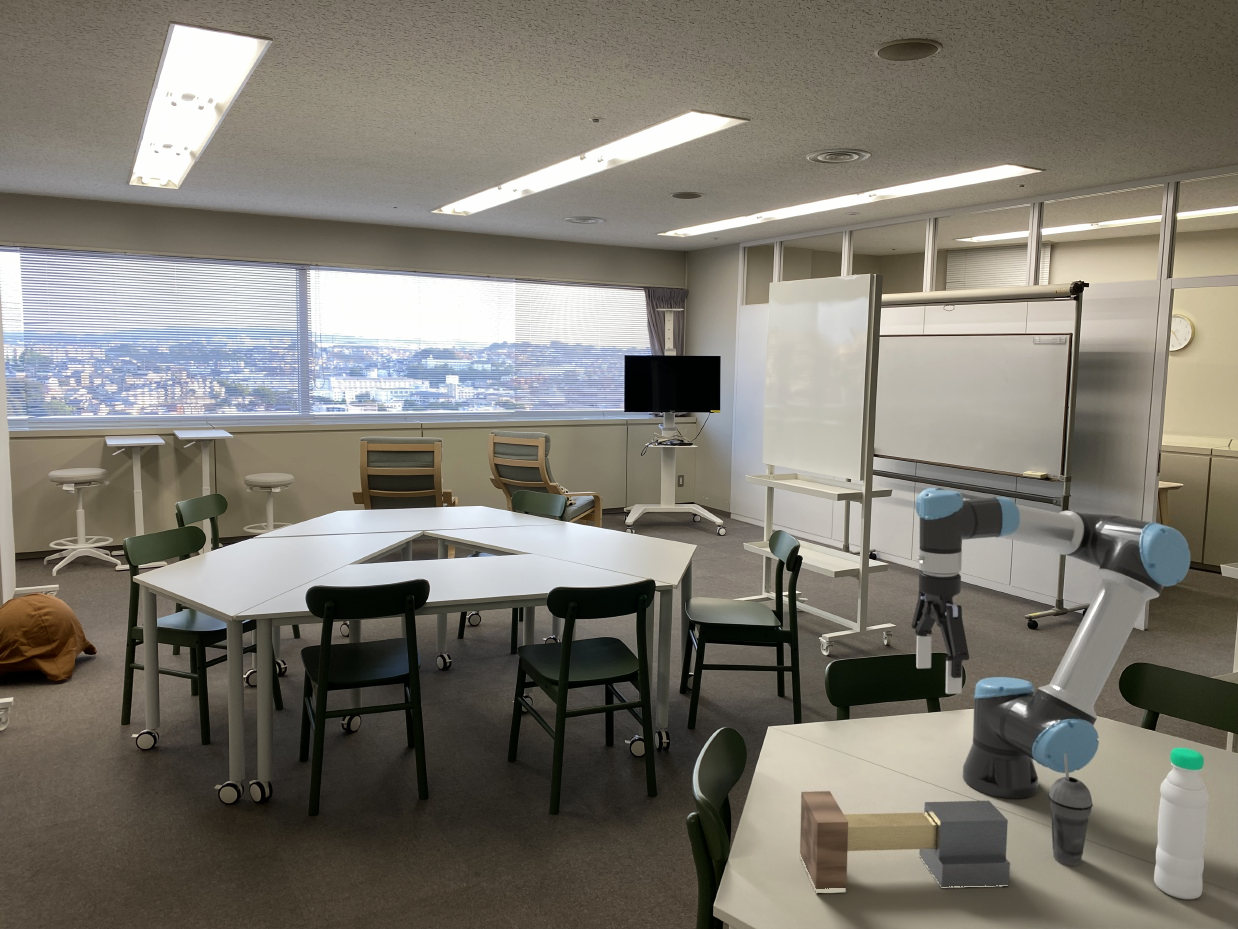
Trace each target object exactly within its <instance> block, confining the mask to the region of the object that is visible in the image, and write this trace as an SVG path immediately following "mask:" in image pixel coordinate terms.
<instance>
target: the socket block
mask: <svg viewBox="0 0 1238 929" xmlns="http://www.w3.org/2000/svg"><path fill="white" fill-rule="evenodd" d="M800 793H801V795H800V799H801V800H800V834H799V835H800V838H799V839H800V842H799V855H800V854H801V857H802V859H803V861H804V863H805V865H806V868H807V870H808V872H809V874H810V876H811V879H812V881H813V883H814V885H815V888H816V889H825V888H826V889H827V888H828V889H829V888H846V889H847V884H848V882H847V880H848V879H847V878H848V876H847V874H848V851H847V849H848V821H847V819H846V817H845V816H844V812H843V811H842V809H841V808H840V806H839V803H838V802H837V800H836V799H835V797H834V796H833V793H831V791H830V790H828V791H827V790H826V791H825V790H823V791H818V790H817V791H816V790H815V791H801V792H800Z"/></svg>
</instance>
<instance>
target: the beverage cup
mask: <svg viewBox="0 0 1238 929" xmlns="http://www.w3.org/2000/svg"><path fill="white" fill-rule="evenodd" d="M1064 760H1065V773H1064V774H1065V776H1062V777H1060V778H1057V779H1056V780H1055V781H1054V782H1053V783H1052V784H1051V786H1050V789H1049V793H1048V800H1049V806H1050V814H1051V817H1050V818H1051V834H1052V835H1051V837H1052V853H1053V859H1054V858H1055V859H1054V860H1055V861H1056V862H1058V863H1059V862H1060V863H1059V864H1062V865H1063V866H1064V865H1065V866H1068V867H1078V866H1080V865H1081V863H1082V856H1083V854H1084V848H1085V841H1086V836H1087V835H1086V834H1087V829H1088V825H1089V823H1088V822H1089V817H1090V815H1091V812H1092V808H1093V805H1094V804H1093V799H1092V794H1091V791H1090V789H1089V788H1088V786H1087V785H1086V784H1085V783H1084V782H1083V781H1081V780H1080V779H1078V778H1077V777H1072V776H1070V773H1069V771H1068V759H1067V754H1064Z"/></svg>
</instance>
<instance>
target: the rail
mask: <svg viewBox="0 0 1238 929" xmlns="http://www.w3.org/2000/svg"><path fill="white" fill-rule="evenodd" d="M843 814H844V813H843ZM844 816H845V817H846V819H847V821H848V849H847V852H856V851H857V852H859V851H860V852H861V851H866V852H867V851H895V850H896V851H897V850H898V851H899V850H900V851H901V850H920V849H937V836H938V824H937V823H936V821H935V820H934V819H933V817H932V816H931V815H930V814H929V812H926V813H924V812H896V813H895V812H890V813H885V812H884V813H855V814H853V813H851V814H850V813H849V814H844Z"/></svg>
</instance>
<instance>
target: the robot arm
mask: <svg viewBox="0 0 1238 929" xmlns="http://www.w3.org/2000/svg"><path fill="white" fill-rule="evenodd" d="M915 511H916V514H917V516H918V517H919V555H917V557H916V558H917V560H918V561H919V562H918V563H919V569H920V572H919V573H918V595H917V596H918V598H917V602H916V607H915V609H914V614H913V618H912V622H911V629H913V630H914V632H915V635H916V651H915V652H916V654H915V655H916V656H915V657H916V659H915V660H916V661H915V662H916V665H915V666H916V668H917V669H931V668H932V634H933V631H932V629H933V627H934V625H935V623H936V626H937V627H939V628H940V631H941V634H942V637H943V641H944V646H945V648H946V652H947V656H946V657H945V658H944V660H945V694H947V695H954V694H958V695H959V694H962V692H963V691H962V690H963V688H962V687H963V661H969V659H970V654H969V649H968V643H967V639H966V638H967V637H966V633H965V626H964V620H963V607H962V606H961V605H958V604H957V605H954V599H953V598H954V597H955V596H958V595H959V594H960V593H961V590H962V576H961V574H960V572H961V571H962V565H963V564H962V562H963V560H962V559H963V558H962V556H963V555H962V554H963V550H962V547H963V546H962V544H963V540H964V541H965V540H971V539H972V540H973V539H974V540H976V539H985V538H986V539H987V538H996V539H997V538H1000V539H1001V538H1002V539H1005V540H1011V541H1016V542H1021V543H1026V544H1032V545H1036V546H1041V547H1047V548H1051V549H1052V550H1053V552H1055V553H1057V554H1059V555H1063V556H1068V557H1071V558H1074V559H1077V560H1080V561H1083V562H1086V563H1088V564H1090V565H1093V566H1096V567H1098V568H1099V569H1098V570H1097V571H1098V574H1099V576H1100V579H1101V583H1100V584H1099V586H1098V588H1097V590H1096V592H1095V594H1094V596H1093V599H1092V600H1091V603H1090V604H1089V606H1088V607H1087V609H1086V612H1085V614H1084V616H1083V618H1082V620H1081V622H1080V623H1079V625H1078V628H1077V630H1076V632H1075V634H1074V635H1073V637H1072V640H1071V641H1070V642H1069V643H1070V644H1069V645H1068V648H1067V649H1066V651H1065V654H1064V655H1063V657H1062V659H1061V661H1060V663H1059V665H1058V667H1057V669H1056V670H1055V673H1054V675H1053V677H1052V679H1051V681H1050V683H1048V684H1046V685H1043V686H1039V687H1038V688H1037V690H1035V687H1034V684H1033V683H1032V682H1031V681H1028V680H1026V679H1021V678H1017V677H1007V676H1006V677H1005V676H997V677H993V676H992V677H986V678H983V679H980V680H979V681H978V682H977V683H976V684H975V688H974V689H975V690H974V695H973V725H972V727H973V729H972V736H973V737H972V744H971V746H970V749H969V751H968V754H967V757H966V758H965V761H964V763H963V766H962V778H963V780H964V782H965V784H967V785H968V786H969V787H970V788H972V789H974V790H976V791H978V792H980V793H983V794H986V795H989V796H992V797H996V798H997V797H998V798H1003V799H1014V800H1015V799H1025V798H1029V797H1032V796H1034V795H1036V794H1037V792H1038V790H1039V777H1038V774H1037V773H1038V772H1037V770H1036V767H1035V764H1034V761H1035V762H1036V763H1037V764H1039V765H1041V766H1042V767H1045V768H1048V769H1050V770H1052V771H1054V772H1056V773H1060V774H1066V773H1065V760H1064V754H1067V759H1068V771H1069V774H1071V773H1074V772H1075V771H1080V770H1081V769H1084V767H1086V766H1087V765H1088V764H1089V763H1090V762H1091V761H1092V760H1093V759H1094V758H1095V756H1096V754H1097V751H1098V749H1099V746H1100V745H1099V744H1100V742H1099V740H1098V739H1099V733H1098V731H1097V729H1096V728H1095V726H1094V725H1095V723H1096V721H1097V719H1098V717H1097V713H1096V711H1095V707H1094V706H1095V704H1096V702H1097V699H1098V698H1099V695H1100V694H1101V692H1102V690H1103V688H1104V686H1105V684H1106V682H1107V680H1108V677H1109V676H1110V674H1111V672H1112V670H1113V668H1114V666H1115V664H1116V662H1117V660H1118V658H1119V656H1120V654H1121V652H1122V650H1123V648H1124V646H1125V644H1126V643H1127V641H1128V638H1129V637H1130V635H1131V632H1132V630H1133V628H1134V627H1135V624H1136V623H1137V620H1138V619H1139V617H1140V615H1141V612H1142V610H1143V609H1144V607H1145V605H1146V603H1147V602H1148V601H1150V600H1153V599H1156V598H1159V596H1161V593H1162V591H1163V589H1164V587H1172V586H1175V585H1177V584H1178V583H1180V582H1182V581H1183V580H1184V579H1185V578H1186V576H1187V573H1188V571H1189V570H1190V565H1191V551H1190V549H1189V543H1188V541H1187V539H1186V538H1185V536H1184V535H1183V534H1182V533H1181V532H1180V531H1179V530H1178V529H1176V528H1173V527H1171V526H1167V525H1164V524H1161V523H1159V522H1149V521H1146V520H1139V519H1134V518H1129V517H1125V516H1120V515H1114V514H1113V515H1112V514H1102V513H1088V512H1078V511H1077V512H1076V511H1072V510H1062V511H1060V512H1054V511H1049V510H1045V509H1040V508H1037V507H1036V508H1034V507H1030V506H1026V505H1020V504H1017V503H1016V502H1015V501H1014V500H1013V499H1011V498H1009V497H1004V496H1002V497H999V496H993V497H983V496H977V495H973V494H969V493H963V492H960V491H956V490H949V489H944V488H942V487H941V488H940V487H927V488H926V489H923V490H922V491H921V492H920V493H919V494H918V496H917V498H916V501H915ZM1035 691H1036V692H1035Z"/></svg>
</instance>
